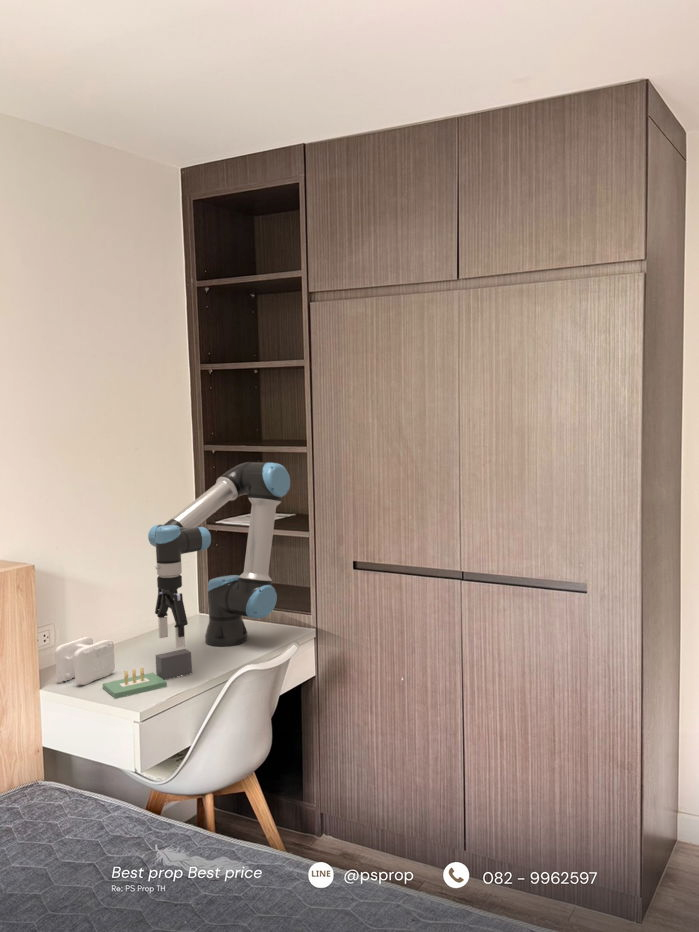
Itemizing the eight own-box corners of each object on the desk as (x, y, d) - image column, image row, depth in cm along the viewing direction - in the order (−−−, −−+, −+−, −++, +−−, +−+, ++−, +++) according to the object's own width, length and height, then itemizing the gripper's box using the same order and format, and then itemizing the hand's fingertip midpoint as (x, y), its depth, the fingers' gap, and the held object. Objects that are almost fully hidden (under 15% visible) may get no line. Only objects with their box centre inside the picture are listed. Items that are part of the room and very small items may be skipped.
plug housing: (186, 670, 271) (185, 648, 270) (192, 673, 267) (191, 652, 266) (156, 676, 265) (155, 655, 264) (162, 680, 261) (160, 658, 261)
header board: (153, 677, 265) (152, 660, 264) (166, 686, 256) (165, 668, 255) (102, 688, 256) (101, 670, 255) (115, 698, 247) (114, 680, 246)
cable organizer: (93, 669, 274) (91, 634, 273) (116, 674, 269) (114, 638, 268) (56, 683, 262) (54, 647, 261) (80, 688, 256) (78, 651, 255)
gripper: (143, 570, 271) (145, 635, 273) (173, 583, 251) (176, 653, 252) (165, 567, 276) (167, 631, 277) (197, 579, 255) (199, 648, 257)
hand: (171, 642), depth 265 cm, fingers open, 13 cm apart
